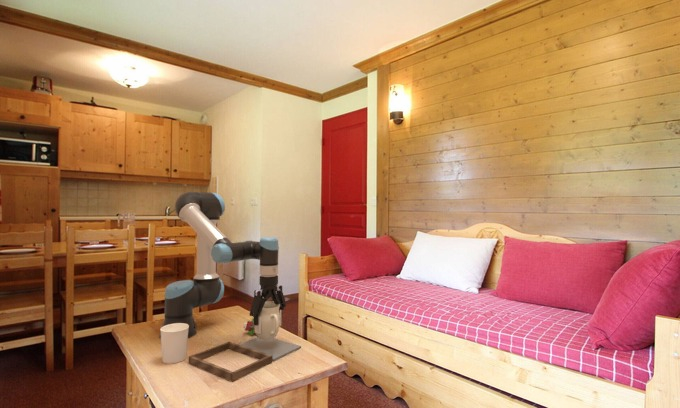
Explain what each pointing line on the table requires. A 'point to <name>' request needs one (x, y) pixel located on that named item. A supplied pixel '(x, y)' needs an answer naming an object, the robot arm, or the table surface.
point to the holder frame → (224, 373)
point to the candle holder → (174, 342)
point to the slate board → (272, 347)
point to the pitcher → (269, 321)
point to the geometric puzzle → (249, 327)
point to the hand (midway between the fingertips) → (268, 329)
